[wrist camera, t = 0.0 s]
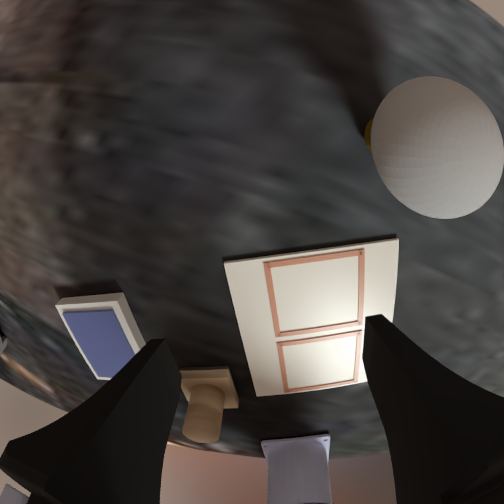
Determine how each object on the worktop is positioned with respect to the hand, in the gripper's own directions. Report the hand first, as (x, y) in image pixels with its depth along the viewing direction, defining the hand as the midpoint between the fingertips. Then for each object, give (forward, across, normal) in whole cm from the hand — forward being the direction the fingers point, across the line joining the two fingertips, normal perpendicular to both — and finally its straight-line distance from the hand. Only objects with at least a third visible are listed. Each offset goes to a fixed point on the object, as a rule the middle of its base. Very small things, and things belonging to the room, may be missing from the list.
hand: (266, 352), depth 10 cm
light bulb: (+10, -8, -6) cm, 14 cm away
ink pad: (+10, +15, +7) cm, 19 cm away
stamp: (+10, +7, +13) cm, 18 cm away
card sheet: (+10, -3, +8) cm, 13 cm away
